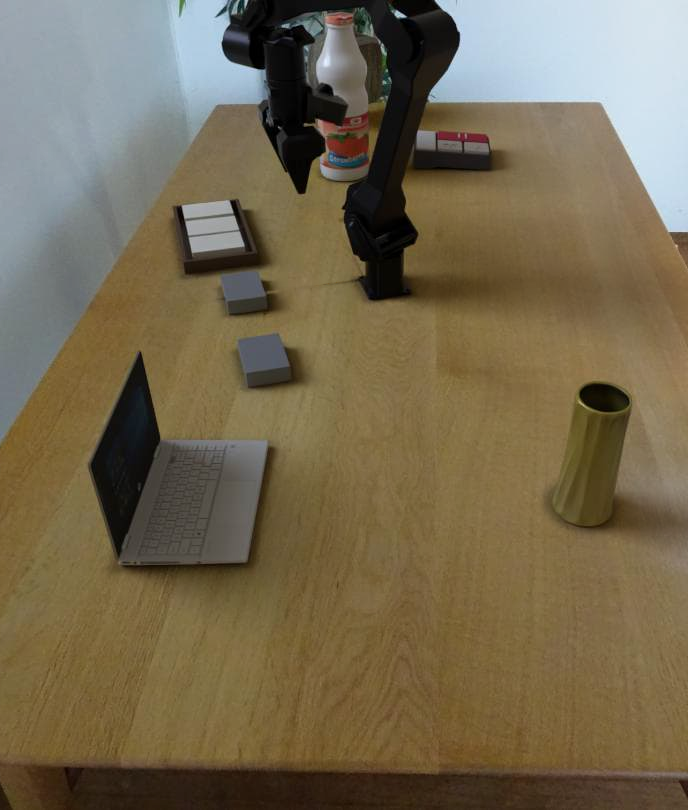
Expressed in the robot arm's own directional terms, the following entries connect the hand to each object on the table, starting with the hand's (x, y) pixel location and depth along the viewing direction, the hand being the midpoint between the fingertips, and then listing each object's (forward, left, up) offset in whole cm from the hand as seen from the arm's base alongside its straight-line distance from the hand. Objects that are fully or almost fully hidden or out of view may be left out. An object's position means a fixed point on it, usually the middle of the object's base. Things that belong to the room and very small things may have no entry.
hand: (294, 182), depth 123 cm
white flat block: (+1, +13, -11) cm, 17 cm away
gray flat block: (-31, +11, -11) cm, 35 cm away
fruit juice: (+29, -15, -11) cm, 35 cm away
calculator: (+31, -37, -11) cm, 49 cm away
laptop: (-54, +21, -11) cm, 59 cm away
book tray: (+6, +13, -11) cm, 18 cm away
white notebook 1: (+14, +13, -11) cm, 22 cm away
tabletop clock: (+58, -23, -11) cm, 64 cm away
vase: (-66, -17, -11) cm, 69 cm away
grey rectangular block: (-13, +11, -11) cm, 20 cm away
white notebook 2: (+7, +13, -11) cm, 18 cm away
